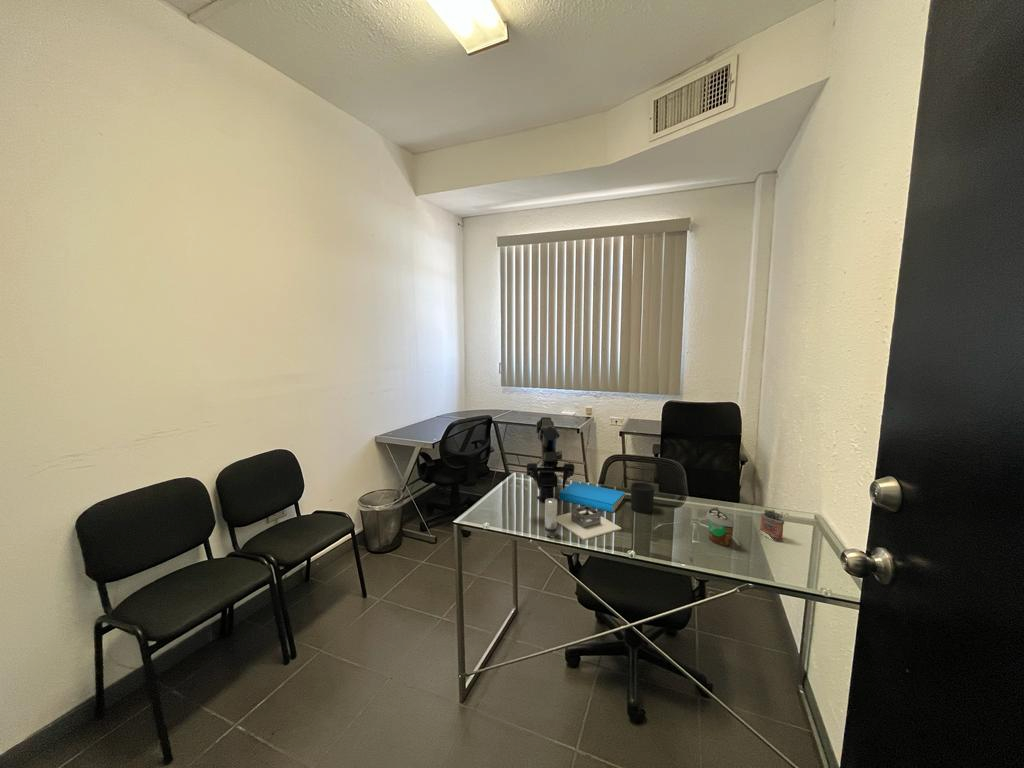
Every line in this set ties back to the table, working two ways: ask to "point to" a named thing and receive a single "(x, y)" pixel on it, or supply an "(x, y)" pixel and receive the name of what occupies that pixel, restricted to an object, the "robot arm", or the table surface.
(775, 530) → the lighter
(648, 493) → the pen holder
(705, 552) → the table surface
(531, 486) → the table surface
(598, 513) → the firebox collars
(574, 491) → the book
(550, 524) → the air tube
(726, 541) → the food container
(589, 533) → the tile
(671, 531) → the table surface
